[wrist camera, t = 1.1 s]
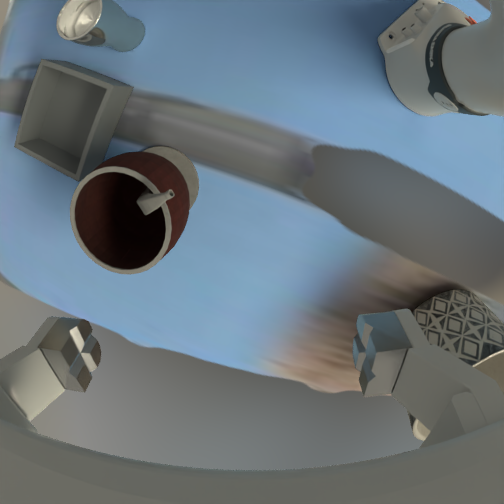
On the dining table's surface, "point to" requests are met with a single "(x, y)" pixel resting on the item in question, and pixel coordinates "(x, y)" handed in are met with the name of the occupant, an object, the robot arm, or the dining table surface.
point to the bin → (70, 117)
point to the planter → (462, 336)
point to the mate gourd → (134, 208)
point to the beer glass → (99, 25)
